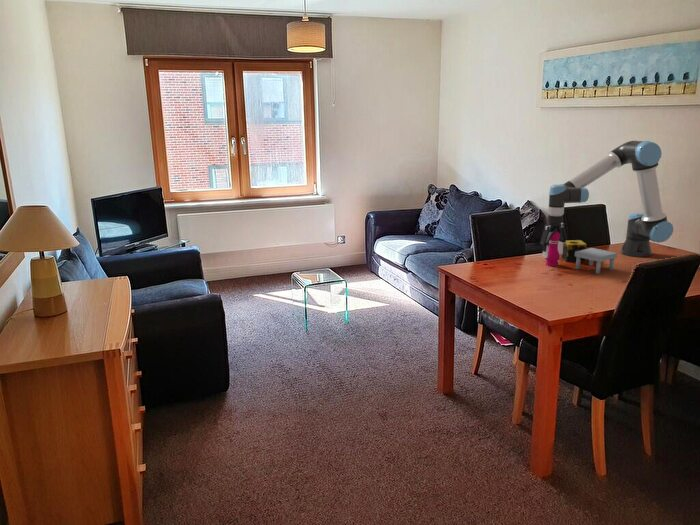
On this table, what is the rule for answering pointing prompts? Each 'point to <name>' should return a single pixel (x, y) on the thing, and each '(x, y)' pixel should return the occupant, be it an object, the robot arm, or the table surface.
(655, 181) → the robot arm
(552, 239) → the pepper mill
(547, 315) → the table surface
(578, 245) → the yellow and black cube
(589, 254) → the stool
